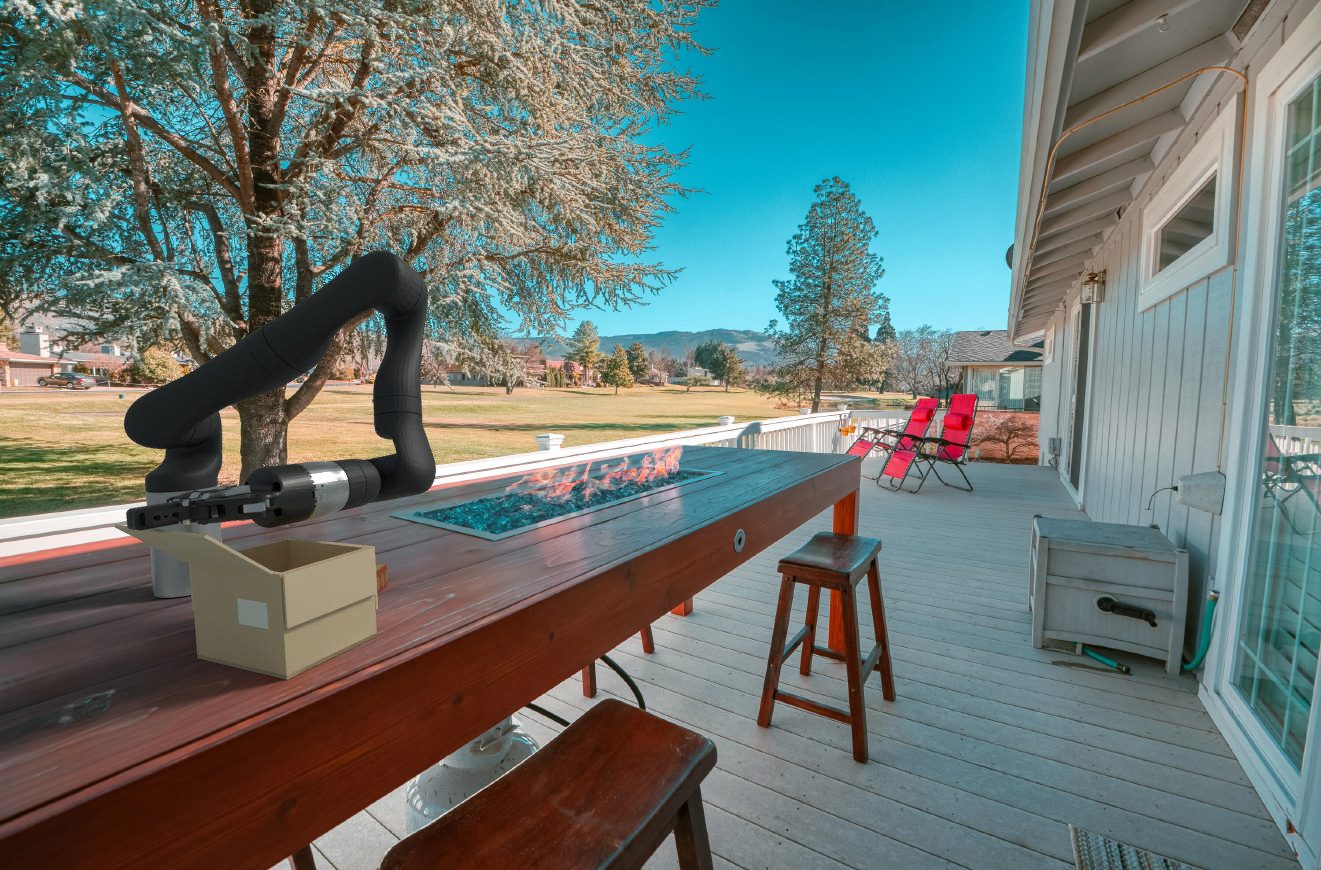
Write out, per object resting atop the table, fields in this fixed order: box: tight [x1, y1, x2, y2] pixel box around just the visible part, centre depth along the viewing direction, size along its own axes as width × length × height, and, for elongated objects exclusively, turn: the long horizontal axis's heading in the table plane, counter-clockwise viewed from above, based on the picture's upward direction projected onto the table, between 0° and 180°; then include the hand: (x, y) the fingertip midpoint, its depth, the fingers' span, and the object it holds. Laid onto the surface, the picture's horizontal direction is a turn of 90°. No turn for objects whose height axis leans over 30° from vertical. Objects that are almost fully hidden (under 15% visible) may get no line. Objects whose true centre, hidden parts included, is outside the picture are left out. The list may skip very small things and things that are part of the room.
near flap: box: [113, 524, 273, 574], centre depth 61 cm, size 16×8×1 cm
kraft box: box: [189, 537, 379, 681], centre depth 70 cm, size 17×13×12 cm
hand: (131, 520), depth 56 cm, fingers closed
